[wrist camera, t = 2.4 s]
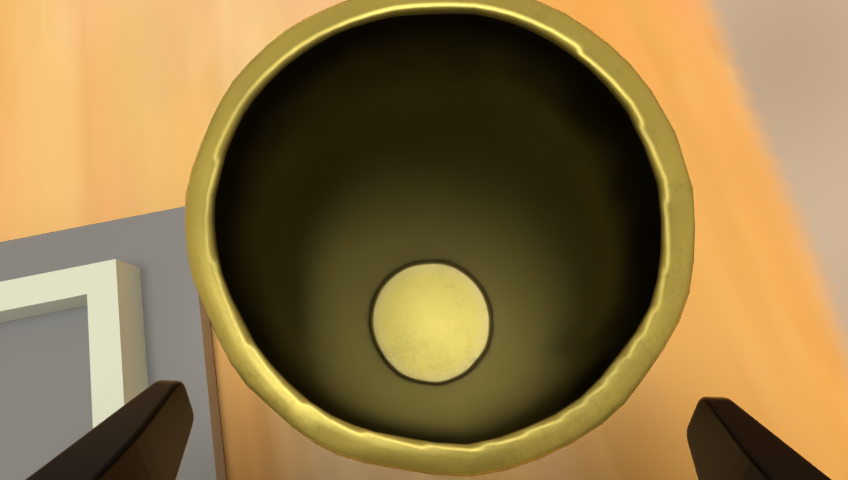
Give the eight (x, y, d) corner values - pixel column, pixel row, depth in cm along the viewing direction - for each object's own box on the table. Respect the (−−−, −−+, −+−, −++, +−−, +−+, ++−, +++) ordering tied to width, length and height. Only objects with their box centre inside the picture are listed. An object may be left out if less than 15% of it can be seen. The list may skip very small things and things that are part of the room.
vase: (437, 447, 18) (469, 712, 4) (314, 328, 19) (5, 214, 5) (548, 317, 19) (870, 176, 5) (425, 210, 20) (419, -145, 6)
